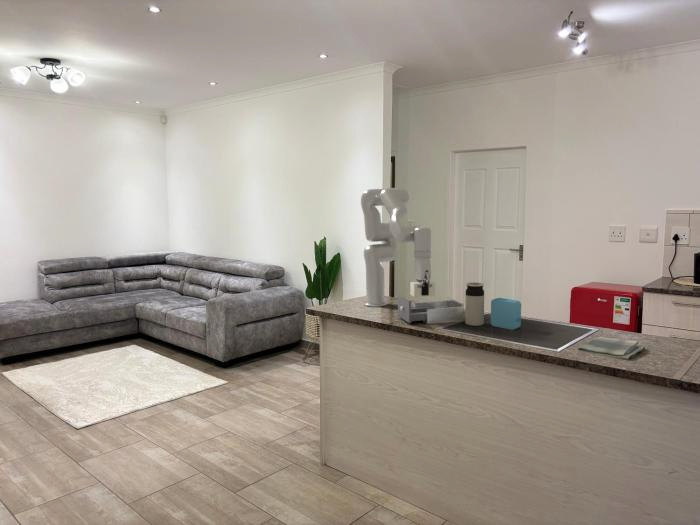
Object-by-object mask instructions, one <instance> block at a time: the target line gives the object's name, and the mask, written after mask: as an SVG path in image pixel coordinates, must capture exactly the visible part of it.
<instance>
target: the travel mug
mask: <svg viewBox="0 0 700 525" xmlns="http://www.w3.org/2000/svg"><path fill="white" fill-rule="evenodd" d="M464 305H465V307H464V308H465V309H464V310H465V312H464V315H465V316H464V319H465V320H464V322H465V324H466V325H467V326H472V327H476V326H478V327H479V326H482V325H484V324H485V289H484V283H483V282H474V281H473V282H466V289H465V304H464Z"/></svg>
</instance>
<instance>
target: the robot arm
mask: <svg viewBox="0 0 700 525" xmlns="http://www.w3.org/2000/svg"><path fill="white" fill-rule="evenodd" d="M409 199H410V195H409V192H408V191H407V189H405V188H403V187H387V188H372V189H366V190H364V191H363V193H362V194H361V197H360V205H361V206H360V207H361V209H362V213H363V218H364V219H363V221H364V232H365V234H364V235H365V238H366V240H367V241H368V242H369V243H370V242H371V243H372V242H374V244H369V245H367V246H366V247H365V248H364V250H363V259H364V262H365V264H364V265H365V286H366V287H365V291H366V292H365V293H366V294H365V295H366V296H365V297H366V300H365V301H363V305H364V306H366V307H371V308H372V307H373V308H375V307H377V308H378V307H385V306H387V305H388V301H387V300H385V269H384V268H383V266H382V264H381V263H387V262H392V261H394V260H395V259H396V258H397V257H396V256H397V242H398V243H401V244H407V243H413V245H414V246H413V256H414V257H413V258H414V261H413V262H414V263H413V278H414V279H416V282H420V281H422V286H423V287H422V295H429V282H430V281H431V278H432V277H431V276H432V269H431V260H430V258H432V230H431V228H430V227H427V226H421V225H407V226H406V225H404V226H402V225H401V224H400V222H399V221H401V219H403V218H405V216H406V215H407V212H408V208H407V206H406V205H407V203H408V202H409ZM383 206H384V208H385V209H386V211H387V213H388V214H389V216H390V217H389V222H382V220H381V219H382V218H381V213H380V211H379V210H378V208H377V207H383ZM375 242H377V243H376V244H375ZM378 242H382V243H378ZM424 281H425V283H424Z"/></svg>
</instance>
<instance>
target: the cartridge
mask: <svg viewBox="0 0 700 525" xmlns="http://www.w3.org/2000/svg"><path fill="white" fill-rule="evenodd" d="M409 283H410V284H409V285H410V290H409V291H410V295H409V296H411V297H413V298H419V297H433V296H436V282H434V281H432V280H430V282H429V295H422V287H423V286H422V281H420V282H417V281H410V282H409ZM424 283H425V281H424Z"/></svg>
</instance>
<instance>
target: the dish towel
mask: <svg viewBox="0 0 700 525" xmlns="http://www.w3.org/2000/svg"><path fill="white" fill-rule="evenodd" d="M577 350H578V351H579V352H585V353H590V354H595V355H599V356H603V357H609V358H612V359H613V358H614V359H620V360H624V361H629V360H631V359H633V358H634V357H636V356H638V355H640V354H641V353H642V352H643V351H646V346H639V341H638V340H628V339H627V340H626V339H619V338H611V337H603V336H602V337H601V336H598V337H597V336H596V337H594V338H592V339H591V340H589V341H588V340H587V341H586V342H585V343H583V344H581V345H580V346H579V347H577Z"/></svg>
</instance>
